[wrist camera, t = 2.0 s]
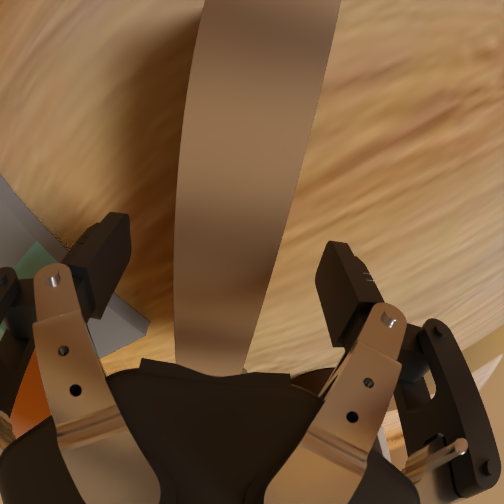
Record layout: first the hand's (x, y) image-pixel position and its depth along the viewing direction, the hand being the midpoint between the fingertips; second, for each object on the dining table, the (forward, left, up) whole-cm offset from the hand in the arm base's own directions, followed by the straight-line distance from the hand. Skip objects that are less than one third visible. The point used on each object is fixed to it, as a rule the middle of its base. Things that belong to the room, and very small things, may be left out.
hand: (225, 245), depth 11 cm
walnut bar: (0, 0, -6) cm, 6 cm away
